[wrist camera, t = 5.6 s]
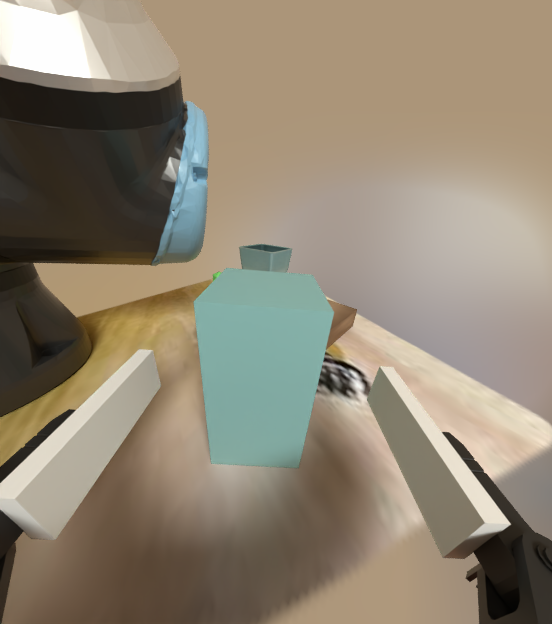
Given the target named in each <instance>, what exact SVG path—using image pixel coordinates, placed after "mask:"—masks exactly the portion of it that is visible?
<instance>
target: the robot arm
mask: <svg viewBox="0 0 552 624" xmlns="http://www.w3.org/2000/svg"><path fill="white" fill-rule="evenodd" d="M208 148H209V145H208V125H207V119H206V115H205V114H204V112H203V111H202V110H201V109H199V108H198V107H196V106H195V105H194V103H192V102H189V101H186V102H185V103H184V102H183V96H182V88H181V79H180V68H179V62H178V60H177V58H176V56H175V54H174V53H173V51H172V50H171V49H170V47H169V45H168V44H167V42H166V41H165V39H164V38H163V37H162V35H161V34H160V32H159V31H158V29H157V28H156V26H155V25H154V23H153V22H152V20H151V19H150V17H149V16H148V14H147V13H146V11H145V10H144V8H143V6H142V4H141V1H140V0H0V416H2V415H4V414H7V413H9V412H11V411H13V410H15V409H17V408H19V407H21V406H23V405H25V404H27V403H29V402H30V401H32V400H34V399H36V398H38V397H39V396H41V395H43V394H45V393H46V392H48V391H50V390H51V389H53V388H54V387H56V386H57V385H59V384H60V383H62V382H63V381H64V380H66V379H67V378H68V377H70V376H71V375H72V374H73V373H74V372H76V371H77V370H78V369H79V368H80V367H81V366H82V365H83V364H84V362H85V361H86V360H87V358H88V357H89V355H90V353H91V350H92V343H91V341H90V338H89V335H88V333H87V330H86V328H85V327H84V325H83V324H82V323H81V322H80V321H79V320H78V319H77V318H76V317H75V316H74V315H73V314H72V313H71V312H70V311H69V310H68V309H67V308H66V307H65V306H64V305H63V304H62V303H61V302H60V301H59V300H58V299H57V298H56V297H55V296H54V295H53V294H52V293H51V292H50V291H49V290H48V288H47V287H45V285H44V284H43V283H42V282H41V280H40V277H39V275H38V273H37V271H36V269H35V267H34V264H33V263H76V264H78V263H79V264H129V265H151V266H156V265H158V264H163V263H183V262H189V261H191V260H193V259H195V258H196V257H197V256H198V255H199V253H200V252H201V249H202V246H203V239H204V232H205V223H206V210H207V182H206V180H207V176H208V158H209V156H208V155H209V149H208ZM160 387H161V383H160V379H159V375H158V370H157V366H156V362H155V358H154V353H153V350H141V349H139V350H138V351H137V352H136V353H135V354H134V355H133V356H132V357H131V358H130V359H129V360H128V361H127V362H126V363H125V364H123V365H122V366H121V367H120V368H119V369H118V370H117V371H116V372H115V373H114V374H113V375H112V376H111V377H110V378H109V379H108V380H107V381H106V382H105V383H104V384H103V385H102V386H101V387H100V388H99V389H98V390H97V391H96V392H94V393H93V394H92V395H91V396H90V397H89V398H88V399H87V400H86V401H85V402H84V403H83V404H82V405H81V406H80V407H79V408H78V409H77V410H70V409H69V410H67V411H66V412H64V413H63V414H61V415H59V416H58V417H56V418H55V419H53V420H52V421H51V422H49V423H48V424H47V425H46V426H45V427H44V428H43V429H42V430H41V431H40V432H38V433H37V436H34V437H33V438H32V439H31V440H30V441H28V442H27V443H26V444H25V446H24V447H23V448H21V449H20V450H19V451H17V452H16V453H15V454H14V455H13V456H12V457H11V458H10V459H9V460H8V461H6V462H5V463H4V464H3V465H2V466H1V467H0V624H1V623H2V618H3V613H4V608H5V602H6V597H7V592H8V587H9V582H10V577H11V572H12V567H13V562H14V557H15V552H16V546H15V541H16V540H17V539H18V537H19V536H20V535H21V534H22V532H24V533H26V534H27V535H28V536H29V537H30V538H31V539H44V540H56V538H57V537H58V536H59V534H60V533H61V531H62V530H63V528H64V527H65V525H66V524H67V522H68V521H69V520H70V518H71V517H72V515H73V514H74V512H75V511H76V509H77V508H78V506H79V505H80V503H81V502H82V501H83V499H84V498H85V496H86V495H87V493H88V492H89V490H90V489H91V487H92V486H93V485H94V483H95V482H96V480H97V479H98V477H99V476H100V474H101V473H102V471H103V470H104V468H105V467H106V466H107V464H108V463H109V461H110V460H111V458H112V457H113V455H114V454H115V452H116V451H117V450H118V448H119V447H120V445H121V444H122V442H123V441H124V439H125V438H126V436H127V435H128V434H129V432H130V431H131V429H132V428H133V426H134V425H135V423H136V422H137V420H138V419H139V417H140V416H141V415H142V413H143V412H144V410H145V409H146V407H147V406H148V404H149V403H150V401H151V400H152V399H153V397H154V396H155V394H156V393H157V391H158V390H159V388H160ZM367 401H368V403H369V405H370V407H371V409H372V411H373V413H374V415H375V418H376V420H377V422H378V424H379V426H380V428H381V430H382V432H383V434H384V436H385V438H386V440H387V443H388V445H389V447H390V449H391V451H392V453H393V455H394V457H395V459H396V461H397V463H398V465H399V468H400V470H401V472H402V474H403V476H404V478H405V480H406V482H407V484H408V486H409V488H410V490H411V493H412V495H413V497H414V499H415V501H416V503H417V505H418V507H419V509H420V511H421V513H422V515H423V518H424V520H425V522H426V524H427V526H428V528H429V530H430V532H431V534H432V536H433V538H434V541H435V543H436V545H437V547H438V549H439V551H440V553H441V555H442V557H443V558H455V559H465V558H466V557H468V556H469V555H470V554H472V553H473V552H474V554H475V555H476V557H477V559H478V561H479V562H480V564H478V565H477V566H475V567H474V568H472V569H471V570H469V571H468V572H467V576H466V579H467V580H468V581H469V582H471V581H472V580H474V579H475V578H477V580H478V584H477V586H476V587H477V588H478V604H479V624H552V541H551V540H549V539H548V538H546V537H544V536H542V535H540V534H538V533H535V532H534V531H533V530H532V529H531V528H530V527H529V525H528V524H527V523H526V522H525V521H524V520H523V518H521V516H520V515H519V514H518V512H517V511H516V510H515V509H514V507H513V506H512V505H511V504H510V502H509V501H508V500H507V499H506V497H505V496H504V495H503V494H502V493H501V491H500V490H499V489H498V487H497V486H496V485H495V484H494V482H493V481H492V480H491V479H490V477H489V476H488V475H487V474H486V473H484V470H483V469H482V468H481V466H480V465H479V464H478V463H477V461H475V460H474V458H473V456H472V455H471V454H470V453H469V451H468V450H467V449H466V448H465V446H464V445H463V444H462V443H461V442H460V441H458V440H457V439H456V438H455V437H454V436H453V435H451V434H450V433H449V432H441V431H440V429H439V428H438V427H437V425H436V424H435V423H434V421H433V420H432V419H431V417H430V416H429V415H428V413H427V412H426V411H425V409H424V408H423V407H422V405H421V404H420V403H419V401H418V400H417V399H416V397H415V396H414V395H413V393H412V392H411V391H410V389H409V388H408V387H407V385H406V384H405V383H404V381H403V380H402V379H401V377H400V376H399V375H398V373H397V372H396V371H395V369H394V368H393V367H385V366H380V367H379V370H378V372H377V375H376V377H375V380H374V382H373V385H372V388H371V390H370V393H369V395H368V398H367Z"/></svg>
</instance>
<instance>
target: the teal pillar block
mask: <svg viewBox="0 0 552 624" xmlns="http://www.w3.org/2000/svg"><path fill="white" fill-rule="evenodd" d="M194 310H195V319H196V328H197V338H198V347H199V356H200V365H201V375H202V384H203V393H204V403H205V412H206V421H207V430H208V440H209V449H210V458H211V464H228V465H246V466H265V467H284V468H299V464H300V460H301V455H302V451H303V447H304V442H305V438H306V434H307V429H308V425H309V420H310V416H311V412H312V407H313V403H314V398H315V394H316V390H317V385H318V381H319V377H320V372H321V368H322V363H323V359H324V355H325V350H326V346H327V342H328V337H329V333H330V328H331V324H332V320H333V315H334V311H333V309H332V308H331V306H330V304H329V302H328V301H327V299H326V297H325V296H324V294H323V292H322V290H321V289H320V287H319V285H318V284H317V282H316V280H315V278H314V277H313V275H308V274H295V273H283V272H270V271H258V270H245V269H233V268H226V269H225V270H224V271H223V272H222V273H221V274H220V275H219V276H218V277H217V278H216V279H215V280H214V281H213V282H212V283H211V284H210V285H209V286H208V287H207V288H206V289H205V290H204V291H203V292H202V294H201V295H200V296H199V297H198V298H197V299H196V300H195V301H194Z"/></svg>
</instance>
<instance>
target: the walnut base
mask: <svg viewBox="0 0 552 624" xmlns="http://www.w3.org/2000/svg"><path fill="white" fill-rule="evenodd" d="M327 301H328V302H329V304H330V306H331V308H332V309H333V311H334V315H333V320H332V324H331V328H330V333H329V337H328V342H327V346H326V349H327V348H328V347H329V346H331V345H332V344H333V343H334V342H335V341H336V340H337V339H338V338H340V337H341V336H342V335H343V334H344V333H345V332H346V331H347V330H349V329H350V328H351V327H352V326H353V323H354V319H355V316H356V312H357V309H354V308H351V307H348V306H345V305H342V304H339V303H336V302H333V301H330V300H327Z"/></svg>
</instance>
